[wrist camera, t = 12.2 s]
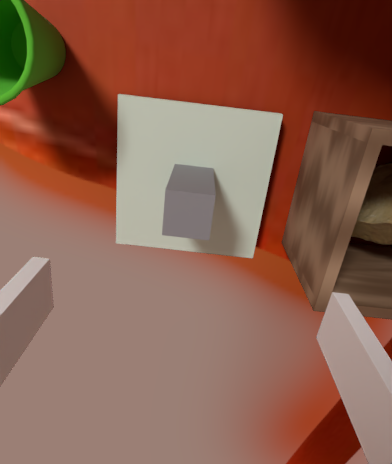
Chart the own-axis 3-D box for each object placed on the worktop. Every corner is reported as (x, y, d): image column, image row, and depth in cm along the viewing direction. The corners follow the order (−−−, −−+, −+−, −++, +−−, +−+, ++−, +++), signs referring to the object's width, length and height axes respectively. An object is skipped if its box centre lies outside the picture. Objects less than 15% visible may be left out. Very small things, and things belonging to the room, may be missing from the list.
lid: (123, 93, 34) (87, 99, 24) (278, 112, 34) (309, 126, 24) (120, 235, 40) (91, 287, 30) (250, 249, 41) (265, 306, 31)
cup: (79, 111, 34) (27, 124, 24) (-10, 82, 33) (-102, 83, 23) (94, 12, 31) (40, -20, 21) (-5, -23, 30) (-112, -75, 20)
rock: (307, 247, 38) (400, 262, 37) (333, 229, 29) (453, 248, 28) (317, 160, 40) (404, 171, 39) (343, 120, 32) (455, 134, 31)
